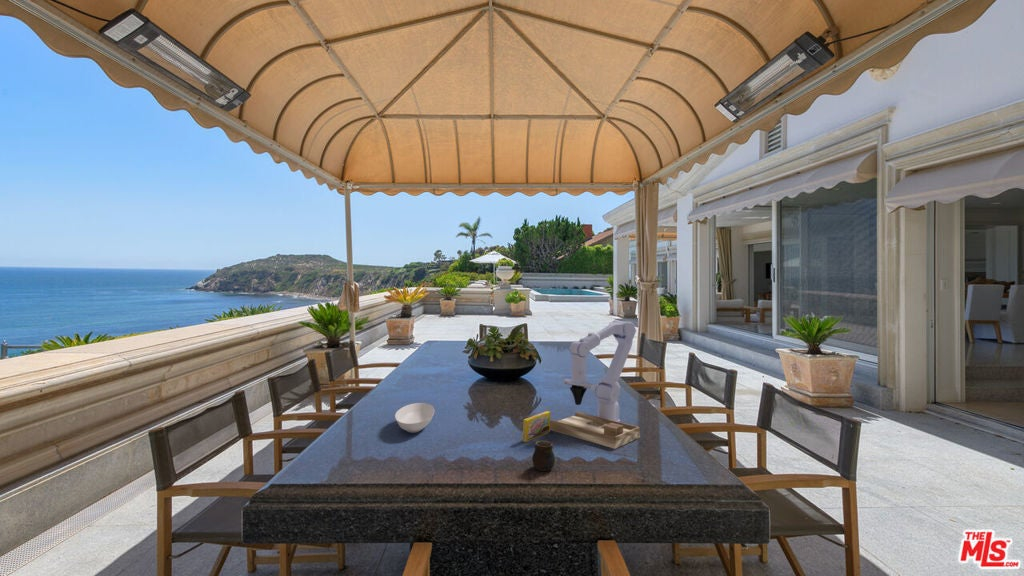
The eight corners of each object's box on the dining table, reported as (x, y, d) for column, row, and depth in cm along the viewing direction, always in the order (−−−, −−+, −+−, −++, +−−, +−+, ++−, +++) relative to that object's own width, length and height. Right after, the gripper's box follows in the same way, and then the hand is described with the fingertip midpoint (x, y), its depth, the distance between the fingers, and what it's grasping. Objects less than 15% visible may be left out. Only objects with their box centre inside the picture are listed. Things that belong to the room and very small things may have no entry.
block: (611, 433, 174) (611, 422, 174) (623, 436, 170) (623, 425, 170) (603, 436, 170) (604, 425, 170) (615, 439, 167) (616, 428, 167)
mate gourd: (540, 462, 150) (541, 431, 150) (560, 468, 146) (561, 437, 146) (527, 468, 145) (528, 437, 145) (546, 475, 140) (548, 442, 140)
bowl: (429, 439, 171) (430, 423, 171) (388, 440, 170) (388, 423, 170) (437, 417, 201) (437, 403, 201) (402, 417, 200) (402, 403, 200)
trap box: (575, 420, 198) (576, 411, 198) (639, 437, 177) (640, 427, 177) (549, 429, 185) (549, 419, 185) (614, 448, 164) (615, 437, 164)
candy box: (526, 443, 169) (527, 420, 169) (521, 441, 171) (522, 419, 171) (550, 432, 182) (550, 411, 182) (545, 431, 183) (546, 410, 183)
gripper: (558, 369, 191) (558, 402, 191) (588, 374, 181) (587, 409, 181) (568, 367, 196) (568, 399, 196) (598, 372, 186) (597, 406, 186)
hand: (578, 404), depth 189 cm, fingers closed
